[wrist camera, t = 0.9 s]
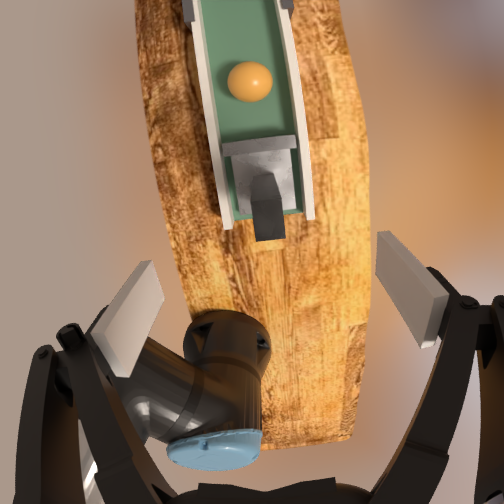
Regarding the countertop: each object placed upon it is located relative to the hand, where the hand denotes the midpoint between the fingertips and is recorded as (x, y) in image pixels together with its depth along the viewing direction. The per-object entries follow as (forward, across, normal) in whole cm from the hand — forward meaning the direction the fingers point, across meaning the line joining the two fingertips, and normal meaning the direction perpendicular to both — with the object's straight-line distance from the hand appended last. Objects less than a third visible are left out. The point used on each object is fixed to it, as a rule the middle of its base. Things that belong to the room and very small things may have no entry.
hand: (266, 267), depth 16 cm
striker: (+21, 0, -1) cm, 21 cm away
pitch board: (+23, 0, -14) cm, 27 cm away
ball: (+19, 0, -13) cm, 23 cm away
